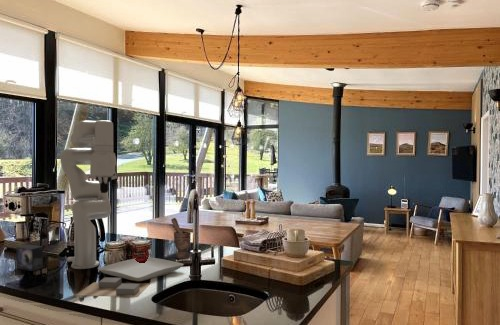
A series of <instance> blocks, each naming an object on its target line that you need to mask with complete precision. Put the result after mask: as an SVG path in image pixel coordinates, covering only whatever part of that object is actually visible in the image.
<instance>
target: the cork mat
mask: <svg viewBox="0 0 500 325" xmlns="http://www.w3.org/2000/svg"><path fill="white" fill-rule="evenodd" d="M121 284H140V290H139V291H138V292H137V293H136V294H135V295H117V294H116V288H117V287H116V288H99V281H98V282H97V281H96V282H95V281H94V282H92V283H91V284H89V285H87V286H86V287H85V288H83V289H82V290H80V291H79V292H77V293H76V294H75V295H74V296H76V297H77V296H79V297H80V296H82V297H88V296H89V297H121V298H122V297H124V298H126V297H127V298H129V297H130V298H131V297H132V298H138V297H139V296H140V295H142V294H143V292H145V290H147V288H148V287H149V286H150V285H151V284H152V283H151V282H150V283H149V282H145V283H144V282H143V283H141V282H122V283H121ZM121 284H120V285H121ZM120 285H119V286H120Z"/></svg>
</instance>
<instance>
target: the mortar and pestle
mask: <svg viewBox="0 0 500 325" xmlns="http://www.w3.org/2000/svg"><path fill="white" fill-rule="evenodd" d="M170 221H171V223H172V226H173V227H174V229H175V231H174V232H173V237H174V238H173V240H174V241H173V242H174V247H175V248H176V249H177V253H176V254H175V258H176V259H181V260H182V259H183V260H186V259H188V258H190V254H189V252H188V249H189V248H190V246H191V241H192V240H191V234H192V233H191V231H188V230H181V227H180V225H179V222H178V220H177V218H176V217H173V218H171V220H170Z"/></svg>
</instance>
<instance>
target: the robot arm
mask: <svg viewBox="0 0 500 325" xmlns="http://www.w3.org/2000/svg"><path fill="white" fill-rule="evenodd" d="M72 132H73V133H71V135H70V141H71V144H73V145H74V146H75V147H71V148H65V149H63V150H62V151H61V153H60V156H59V158H60V165H61V167H62V168H61V169H62V170H63V172H64V173H65V175H66V177H67V180H68V184H69V185H68V186H69V189H70V192H71V197H72V198H73V200H75V202H74V203H73V204H72V206H71V211H72V217H73V218H72V219H73V227H74V229H73V230H74V236H73V237H74V256H68V257H67V258H66V262H68V263H71V262H72V263H71V265H70V267H71V268H72V269H74V270H85V269H93V268H96V267H98V266H100V261H99V260H97V229H96V226H95V225H94V224H93V222H92V221H91V220H96V219H97V220H99V219H106V218H109V217H110V216H111V213H112V207H111V201H110V199H109V195H108V192H109V191H110V190H109V184H110V182H112V180H115V179H118V176H117V175H118V165H117V157H116V153H115V152H114V122H112V121H111V120H105V119H104V120H103V119H101V120H80V121H77V122H76V123H75V124H74V126H73V130H72ZM85 165H86V166H88V165H90V176H91V179H92V180H88V177H87V174H86V172H85V171H84V170H83V169H82V168H81V167H80V166H85Z"/></svg>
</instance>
